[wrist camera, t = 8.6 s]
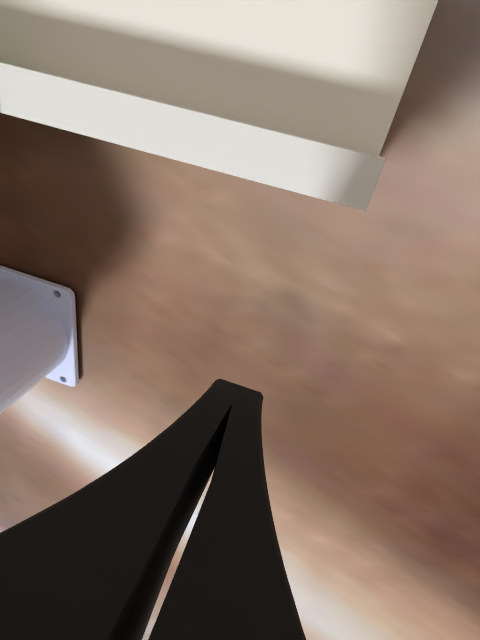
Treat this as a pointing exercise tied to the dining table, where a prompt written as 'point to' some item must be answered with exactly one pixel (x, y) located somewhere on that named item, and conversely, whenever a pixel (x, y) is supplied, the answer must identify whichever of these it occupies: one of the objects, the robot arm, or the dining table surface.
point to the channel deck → (222, 81)
